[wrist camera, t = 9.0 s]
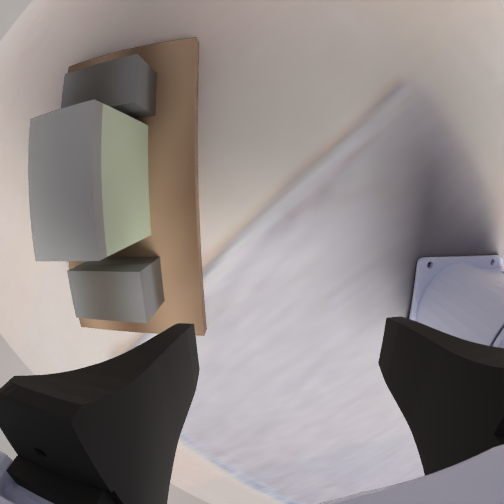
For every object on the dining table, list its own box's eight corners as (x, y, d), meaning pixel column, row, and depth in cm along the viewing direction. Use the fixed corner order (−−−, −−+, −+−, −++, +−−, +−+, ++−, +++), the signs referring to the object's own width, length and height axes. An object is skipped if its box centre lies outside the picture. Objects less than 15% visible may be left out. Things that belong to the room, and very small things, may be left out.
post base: (198, 43, 16) (184, 11, 12) (206, 328, 21) (194, 363, 16) (75, 70, 17) (42, 53, 12) (87, 321, 21) (57, 347, 16)
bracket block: (148, 125, 17) (94, 99, 10) (151, 235, 18) (98, 261, 12) (95, 134, 17) (30, 118, 10) (98, 237, 18) (35, 261, 12)
